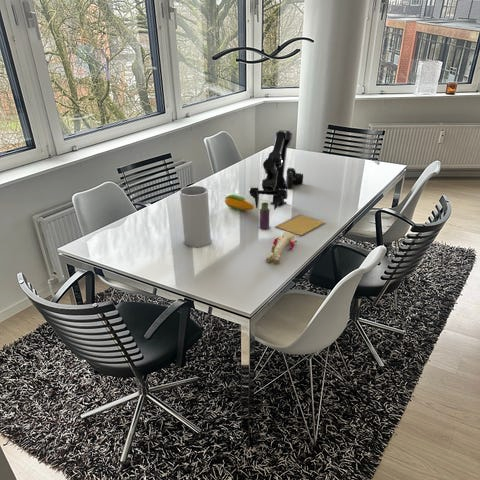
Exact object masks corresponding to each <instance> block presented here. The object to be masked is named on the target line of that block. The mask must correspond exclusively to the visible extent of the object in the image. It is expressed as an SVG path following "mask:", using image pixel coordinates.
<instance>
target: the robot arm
mask: <svg viewBox="0 0 480 480" xmlns="http://www.w3.org/2000/svg"><path fill="white" fill-rule="evenodd" d="M274 136H275V137H274V140H275V141H274V144H273V149H272V151H270V153H268V156H267V158H266V159H265V160H264V161H263V163H262V167H263V170H264V173H265V178H264V179H262V181H261V189H259V187H258V186H250V187H249V188H248V189H249V190H248V192H249V194H250V196H251V197H252V198H253V199H254V203H255V208H256V209H258V207H259V201H260V197H259V196H260V195H267V196H269V195H270V196H272V201H271V202H270V204H271V205H274V206H273V211H275V210H276V209H277V208H278V207H281V206H284V205H286V204H287V202H286V201H285V200H287V199H288V195H289V194H288V193H289V192H288V190H289V189H287V185H286V179H285V178H286V177H285V176H284V175H285V169H286V167H285V166H286V160H287V153H288V152H287V151H288V148H289V147H290V145H291V143H292V141H293V132H291V130H283V129H282V130H281V129H280V130H278V131H275V135H274Z"/></svg>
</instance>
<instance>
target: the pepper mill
mask: <svg viewBox="0 0 480 480" xmlns="http://www.w3.org/2000/svg"><path fill="white" fill-rule="evenodd" d="M260 206H261V208H260V209H259V229H260V230H269V229H270V211H271V210H270V208H269V203H268V202H262V203H261V205H260Z"/></svg>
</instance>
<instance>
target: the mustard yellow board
mask: <svg viewBox="0 0 480 480" xmlns="http://www.w3.org/2000/svg"><path fill="white" fill-rule="evenodd" d="M324 224H325V221H322V220H318V219H315V218H312V217H309V216H305V215H302V214H298V215H295V216H293V217H291V218H290V219H287V220H286V221H283V222H282V223H279V224H278V225H276V226H275V228H276V229H279V230H283V231H285V232H286V231H287V233H293V234H294V235H298V236H300V237H301V236H304V235H306V234H308V232H311V231H313V230H315V229H317V228H318V227H320V226H322V225H324Z"/></svg>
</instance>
